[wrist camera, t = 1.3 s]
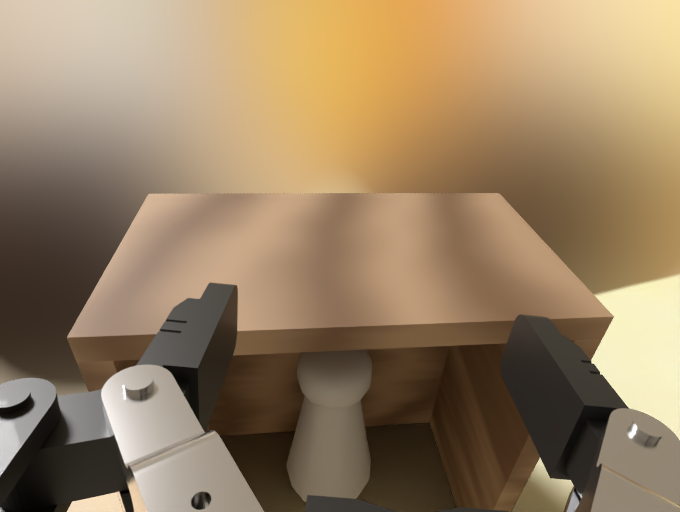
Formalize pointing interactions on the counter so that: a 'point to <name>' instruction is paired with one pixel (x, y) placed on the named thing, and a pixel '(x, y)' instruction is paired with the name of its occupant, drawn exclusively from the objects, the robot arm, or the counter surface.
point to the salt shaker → (331, 425)
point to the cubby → (352, 311)
